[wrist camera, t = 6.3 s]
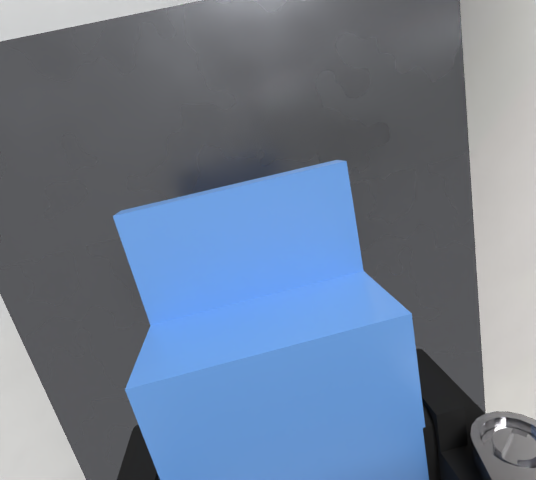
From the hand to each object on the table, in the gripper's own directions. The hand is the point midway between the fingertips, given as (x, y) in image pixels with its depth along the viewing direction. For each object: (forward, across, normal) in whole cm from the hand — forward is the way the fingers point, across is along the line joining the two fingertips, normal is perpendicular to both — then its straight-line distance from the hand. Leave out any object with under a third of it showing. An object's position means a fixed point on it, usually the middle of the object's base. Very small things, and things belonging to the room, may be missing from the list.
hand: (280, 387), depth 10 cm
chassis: (+6, 0, 0) cm, 6 cm away
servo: (+2, 0, 0) cm, 2 cm away
